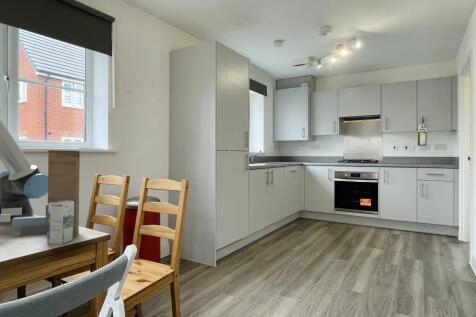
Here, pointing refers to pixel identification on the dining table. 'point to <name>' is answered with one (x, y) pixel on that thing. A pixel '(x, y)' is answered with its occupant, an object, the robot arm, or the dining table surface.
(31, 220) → the mallet
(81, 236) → the dining table surface
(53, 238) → the syrup box
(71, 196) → the stand
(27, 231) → the board
